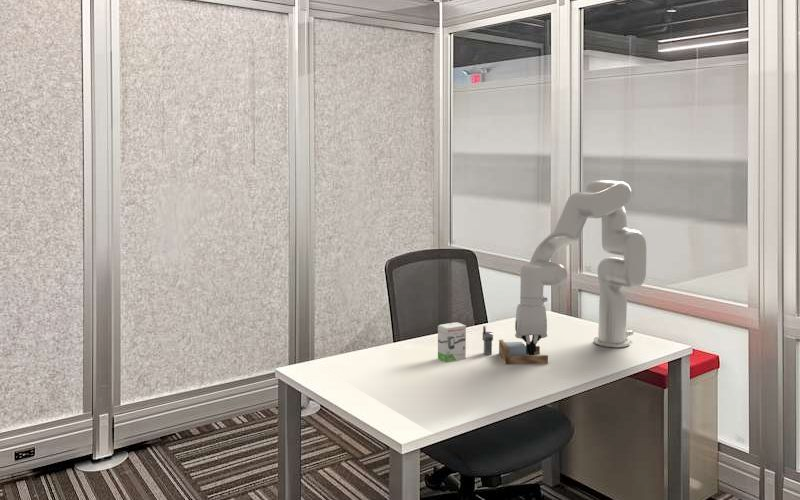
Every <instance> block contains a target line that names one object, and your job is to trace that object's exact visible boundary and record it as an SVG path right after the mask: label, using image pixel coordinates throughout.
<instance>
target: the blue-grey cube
mask: <svg viewBox="0 0 800 500" xmlns="http://www.w3.org/2000/svg"><path fill="white" fill-rule="evenodd" d="M504 342H505V343H506V345H507V346H508V348H509V349H510V356H527V354H526V344H525V343H523V341H504Z"/></svg>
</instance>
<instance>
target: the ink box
mask: <svg viewBox="0 0 800 500" xmlns="http://www.w3.org/2000/svg"><path fill="white" fill-rule="evenodd" d="M466 336H467V325H465V324H462V323H461V322H458V321H457V322H450V323H449V322H447V323H444V324H443V323H442V324H439V325H437V360H440V361H441V362H442V361H443V362H444V363H447V362H448V363H449V362H453V361H454V362H455V361H459V360H465V359H466V358H467V357H466V356H467V355H466V351H467V349H466V348H467V347H466V345H467V344H466V343H467V340H466V339H467V337H466Z"/></svg>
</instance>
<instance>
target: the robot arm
mask: <svg viewBox="0 0 800 500" xmlns="http://www.w3.org/2000/svg"><path fill="white" fill-rule="evenodd" d="M631 198H632V189H631V187H630V185H629V184H628V183H626V182H625V181H619V180H617V181H616V180H593V181H590V182H589V183H588V184H587V185H586V188H585V191H584V192H583V191H582V192H581V191H580V192H574V193H572V194H571V195H570V196H569V197H568V199H567V200H566V203H565V205H564V207H563V209H562V212H561V215H560V217H559V219H558V221H557V223H556V226H555V228H554V230H553V231H552V232H551V233H550V234H549V235H547V237H545V238H544V239H543V240H542V241H541V242H540V243H539V244H538V246H536V248H535V250H534V252H533V254H532V257H531V259H530V260H529V263H526V264H523V265H521V267H520V284H519V285H520V291H519V292H520V297H519V298H520V299H519V300H520V303H519V304H517V305H516V306H517V307H516V312H515V323H514V331H515V334H514V337H515V338H517V339H520V340H523V341H524V342H525V346H526V352H527V353H528V354H527V355H535V354H534V352H536V346H537V344H538V342H539V341H540V340H541V339H545V338H547V337H548V334H547V332H548V319H547V317H548V316H547V311H546V306H545V304H544V303H546V302H548V297H545V296H544V286H553V287H555V286H560V285H562V284H564V283H565V281H566V280H567V277H568V272H567V269H566V268H565V266H563V265H562V264H559V263H556V262H552V261H550V260H551V258H552V257H553V256H554V255H555V253H557V252H558V251H559V250H561V249H562V248H565V247H567V246H570V245H572V244H574V243H576V242H577V241H579V238H580V236H581V233H582V231H583V229H584V227H585V224H586V222H587V219H588V218H589V219H601V246H602V249H603V250H604V252H606V253H609V254H612V255H615V257H614V256H608V257H605V258H603V259H602V260H601V261H600V262H599V264H598V266H597V278H598V284H599V285H598V287H599V301H598V302H599V304H598V328H597V329H598V331H597V336H596V337H594V338H593V343H594V344H596V345H598V346H601V347H606V348H625V347H629V346H630V345H631V344H630V343H631V341H630V340H629V339H628V337H629V336H633V335H634V331H633V330H631V329H630V330H627V312H628V311H627V310H628V309H627V308H628V293H627V290H626V288H633V289H635V288H640V287H641V286H642V285H643V284H644V282H645V279H646V275H647V241H646V237H645V236H644V234H643V233H642V232H640V231H639V230H636V229H630V228H628V225H627V223H628V221H627V211H626V209H625V206H626V205H627V204H628V203H629V202H630V200H631ZM616 256H623V258H622V257H616ZM530 336H531V337H530ZM530 338H531V339H530Z"/></svg>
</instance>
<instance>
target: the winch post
mask: <svg viewBox="0 0 800 500" xmlns="http://www.w3.org/2000/svg"><path fill="white" fill-rule="evenodd" d="M482 328H483V329H482V330H483V332H482V341H483V354H484V356H489V355H490V356H492V354H493V352H492V349H493V348H492V347H493V344H492V343H493V340H494V332H493V331H492V332H491V331H486V328H487V327H486V325H483V327H482Z"/></svg>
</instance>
